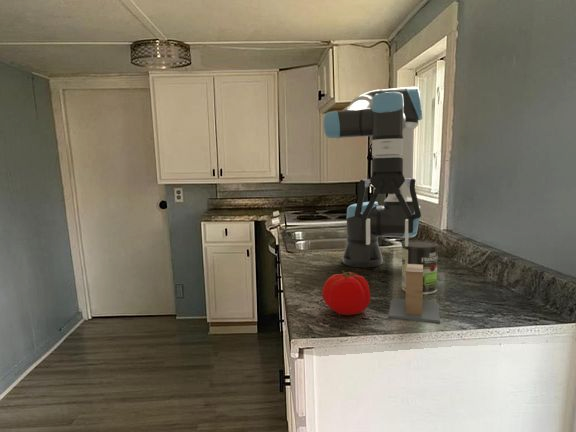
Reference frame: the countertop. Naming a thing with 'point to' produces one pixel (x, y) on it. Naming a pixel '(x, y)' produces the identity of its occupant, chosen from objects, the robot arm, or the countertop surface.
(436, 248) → the coffee can
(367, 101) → the robot arm
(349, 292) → the tomato
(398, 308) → the rubber mat
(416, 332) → the countertop surface
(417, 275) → the tan rectangular block
